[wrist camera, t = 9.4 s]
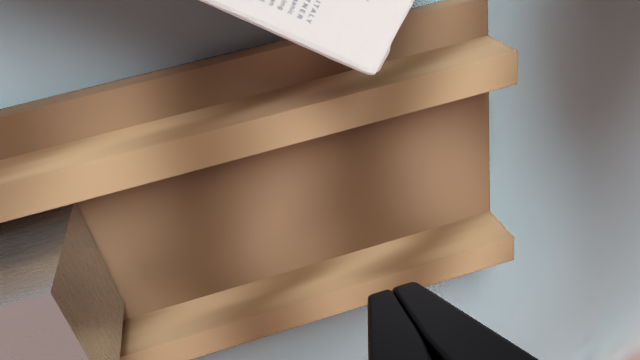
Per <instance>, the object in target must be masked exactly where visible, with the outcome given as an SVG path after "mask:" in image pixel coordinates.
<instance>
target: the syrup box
mask: <svg viewBox="0 0 640 360" xmlns="http://www.w3.org/2000/svg"><path fill="white" fill-rule="evenodd" d="M199 1H202V2H204V3H206V4H208V5H211V6H213V7H215V8H218V9H220V10H222V11H224V12H227V13H229V14H231V15H233V16H235V17H238V18H240V19H242V20H244V21H247V22H249V23H251V24H254V25H256V26H258V27H260V28H263V29H265V30H267V31H269V32H272V33H274V34H276V35H278V36H280V37H282V38H284V39H287V40H289V41H291V42H293V43H296V44H298V45H300V46H303V47H305V48H307V49H310V50H312V51H314V52H317V53H319V54H321V55H323V56H325V57H327V58H329V59H331V60H334V61H336V62H338V63H341V64H343V65H345V66H348V67H350V68H352V69H355V70H357V71H360V72H362V73H365V74H367V75H375V74H376V72H379V70H380V69H381V67H382V65H383V63H384V61H385V60H386V58H387V56H388V54H389V52H390V47H391V43H392V41H393V39H394V37H395V35H396V34H397V32H398V30H399V28H400V26H401V25H402V23H403V21H404V19H405V17H406V16H407V14H408V12H409V10H410V8H411V6H412V4H413V3H414V1H415V0H199Z"/></svg>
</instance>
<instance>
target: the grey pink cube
mask: <svg viewBox="0 0 640 360" xmlns="http://www.w3.org/2000/svg"><path fill="white" fill-rule="evenodd" d="M123 315H124V300H123V298H122V296H121V294H120V292H119V290H118V288H117V286H116V284H115V282H114V280H113V278H112V276H111V274H110V272H109V270H108V268H107V266H106V263H105V261H104V259H103V257H102V255H101V253H100V251H99V249H98V247H97V245H96V243H95V241H94V239H93V237H92V235H91V233H90V231H89V229H88V226H87V224H86V222H85V220H84V218H83V216H82V214H81V212H80V210H79V208H78V206H77V204H76V203H73V204H69V205H65V206H61V207H58V208H54V209H50V210H47V211H43V212H39V213H35V214H32V215H28V216H24V217H20V218H17V219H13V220H9V221H6V222H2V223H0V360H120V350H121V338H122V327H123Z"/></svg>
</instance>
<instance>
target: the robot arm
mask: <svg viewBox="0 0 640 360" xmlns="http://www.w3.org/2000/svg"><path fill="white" fill-rule="evenodd" d="M368 360H538V359H537V358H535V357H533V356H532V355H530V354H529V353H527V352H526V351H524V350H522V349H521V348H519V347H518V346H516V345H515V344H513V343H511V342H510V341H508V340H507V339H505V338H504V337H502V336H500V335H499V334H497V333H496V332H494V331H493V330H491V329H489V328H488V327H486V326H485V325H483V324H481V323H480V322H478V321H477V320H475V319H474V318H472V317H470V316H469V315H467V314H466V313H464V312H463V311H461V310H459V309H458V308H456V307H455V306H453V305H452V304H450V303H448V302H447V301H445V300H444V299H442V298H441V297H439V296H437V295H436V294H434V293H433V292H431V291H429V290H428V289H426V288H425V287H423V286H422V285H420V284H418V283H416V282H410V283H406V284H403V285H400V286H397V287H394V288H393V290H392V291H391V290H389V289H387V290H384V291H380V292H377V293H374V294H371V295H369V296H368Z"/></svg>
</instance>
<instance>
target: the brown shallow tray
mask: <svg viewBox="0 0 640 360" xmlns="http://www.w3.org/2000/svg"><path fill="white" fill-rule="evenodd" d="M515 84H517V51H516V50H515V49H513V48H511V47H509V46H507V45H505V44H503V43H501V42H499V41H497V40H496V39H494V38H492V37H490V36H488V0H444V1H440V2H436V3H432V4H428V5H424V6H420V7H416V8H412V9H410V10H409V12H408V14H407V16H406V17H405V19H404V21H403V23H402V25H401V26H400V28H399V30H398V32H397V34H396V35H395V37H394V39H393V41H392V43H391V47H390V52H389V54H388V56H387V58H386V60H385V61H384V63H383V65H382V67H381V69H380V70H379V72H376V74H375V75H367V74H365V73H362V72H360V71H357V70H355V69H352V68H350V67H348V66H345V65H343V64H341V63H338V62H336V61H334V60H331V59H329V58H327V57H325V56H323V55H321V54H319V53H317V52H314V51H312V50H310V49H307V48H305V47H303V46H300V45H298V44H296V43H293V42H291V41H289V40H287V39H285V40H281V41H277V42H273V43H269V44H265V45H261V46H257V47H253V48H248V49H244V50H240V51H236V52H232V53H228V54H224V55H220V56H216V57H212V58H208V59H204V60H199V61H195V62H191V63H187V64H183V65H179V66H175V67H171V68H167V69H163V70H159V71H155V72H150V73H146V74H142V75H138V76H134V77H130V78H126V79H122V80H118V81H114V82H110V83H106V84H102V85H97V86H93V87H89V88H85V89H81V90H77V91H73V92H69V93H65V94H61V95H57V96H53V97H48V98H44V99H40V100H36V101H32V102H28V103H24V104H20V105H16V106H12V107H8V108H4V109H0V223H2V222H6V221H9V220H13V219H17V218H20V217H24V216H28V215H32V214H35V213H39V212H43V211H47V210H50V209H54V208H58V207H61V206H65V205H69V204H73V203H76V204H77V206H78V208H79V210H80V212H81V214H82V216H83V218H84V220H85V222H86V224H87V226H88V229H89V231H90V233H91V235H92V237H93V239H94V241H95V243H96V245H97V247H98V249H99V251H100V253H101V255H102V257H103V259H104V261H105V263H106V266H107V268H108V270H109V272H110V274H111V276H112V278H113V280H114V282H115V284H116V286H117V288H118V290H119V292H120V294H121V296H122V298H123V300H124V315H123V327H122V338H121V350H120V360H191V359H194V358H197V357H201V356H204V355H207V354H210V353H214V352H217V351H220V350H223V349H227V348H230V347H233V346H236V345H239V344H243V343H246V342H249V341H252V340H256V339H259V338H262V337H265V336H269V335H272V334H275V333H278V332H281V331H285V330H288V329H291V328H294V327H298V326H301V325H304V324H307V323H311V322H314V321H317V320H320V319H323V318H327V317H330V316H333V315H336V314H340V313H343V312H346V311H349V310H353V309H356V308H359V307H362V306H365V305H368V296H369V295H371V294H374V293H377V292H380V291H384V290H387V289H389V290H391V291H392V290H393V288H394V287H397V286H400V285H403V284H406V283H410V282H416V283H418V284H420V285H422V286H423V287H427V286H430V285H433V284H436V283H440V282H443V281H446V280H449V279H453V278H456V277H459V276H462V275H466V274H469V273H472V272H475V271H478V270H482V269H485V268H488V267H491V266H495V265H498V264H501V263H504V262H508V261H511V260H514V237H513V236H512V235H511V234H510V233H509V232H508V230H507V229H506V228H505V227H504V226H503V225H502V224H501V223H500V222H499V221H498V220H497V219H496V218H495V217H494V216H493V215H492V213H491V212H490V179H489V91H493V90H497V89H500V88H504V87H508V86H512V85H515Z"/></svg>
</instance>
